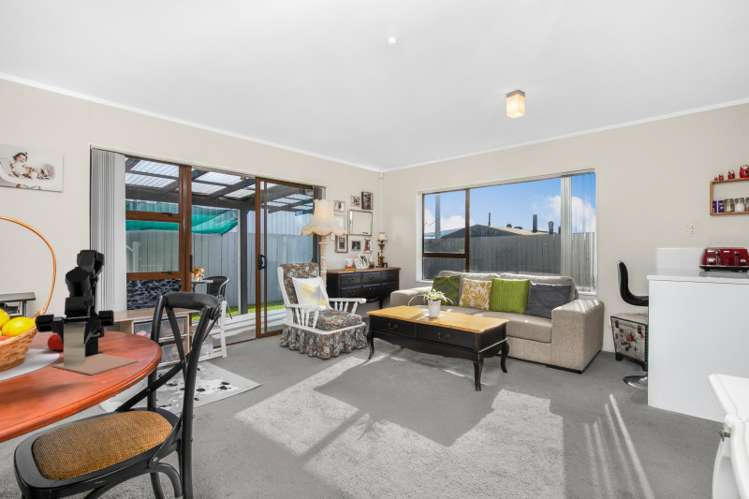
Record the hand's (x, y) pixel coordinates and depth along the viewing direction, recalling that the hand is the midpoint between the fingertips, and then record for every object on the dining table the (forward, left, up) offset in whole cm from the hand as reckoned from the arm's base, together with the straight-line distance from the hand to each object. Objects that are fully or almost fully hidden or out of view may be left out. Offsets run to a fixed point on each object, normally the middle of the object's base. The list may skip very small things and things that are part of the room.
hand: (74, 344), depth 108 cm
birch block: (-1, +1, -7) cm, 7 cm away
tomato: (-44, +21, -12) cm, 50 cm away
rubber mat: (-13, +14, -12) cm, 22 cm away
